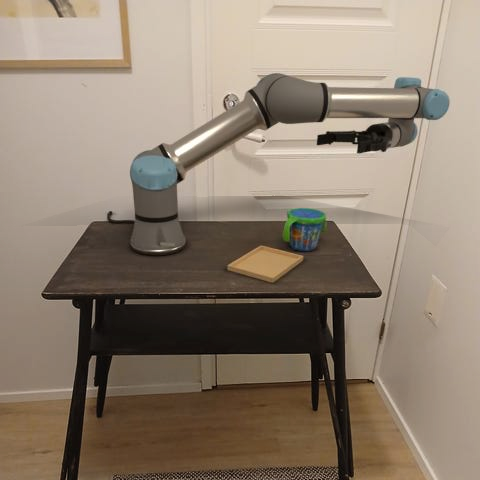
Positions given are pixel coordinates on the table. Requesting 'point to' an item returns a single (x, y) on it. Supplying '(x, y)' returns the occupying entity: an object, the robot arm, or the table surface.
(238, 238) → the table surface
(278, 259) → the tray
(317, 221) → the snack cup
